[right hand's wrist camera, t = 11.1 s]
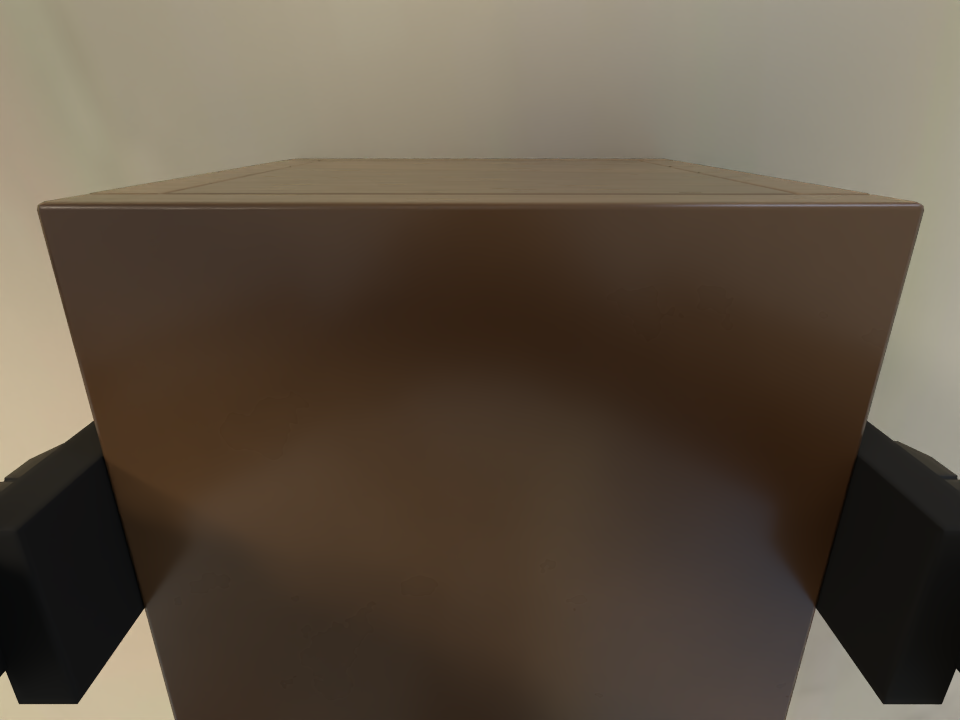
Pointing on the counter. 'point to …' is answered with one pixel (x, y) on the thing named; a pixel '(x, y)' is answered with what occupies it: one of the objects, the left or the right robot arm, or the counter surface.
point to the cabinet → (480, 427)
